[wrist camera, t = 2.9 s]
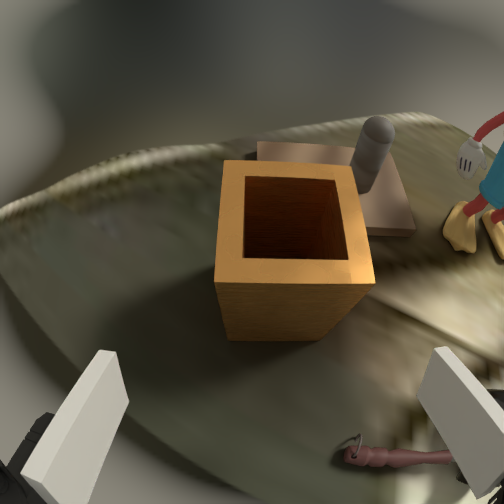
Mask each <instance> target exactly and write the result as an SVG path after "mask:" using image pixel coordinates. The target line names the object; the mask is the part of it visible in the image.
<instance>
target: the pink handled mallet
mask: <svg viewBox="0 0 504 504" xmlns="http://www.w3.org/2000/svg"><path fill="white" fill-rule="evenodd" d="M486 390H487V391H488V393H489V394H490V395H491V396H492V397H493V398H494V399H498V400H500V401H501V402H503V403H504V390H496V389H486ZM359 436H360V441H359V445H358V446H348V447H347V448H346V449H345V452H344V457H343V459H344V461H345V462H346V463H350V464H354V465H358V466H364V465H367V464H368V465H369V466H371V467H383V466H384V465H385V464H387V465H389V466H391V467H393V468H399V467H405V466H411V465H417V464H422V463H429V464H449V463H450V462H456V461H455V459H454V457H453V456H452V454H451V452H450V451H449V450H443V451H435V452H418V451H411V450H405V449H399V448H398V449H395V450H392V451H388V450H387V449H386V448H379V447H374V448H372V449H370V448H369V447H368V446H361V443H362V434H358V435H357V437H356V438H355V442H356V441H357V439H358V438H359ZM456 479H457V480H458V481H460V482H463V483H465V484H468V482H467V481H466V479H465V477H464V475H463V473H462V472H460V473H459V474H458V476H457V477H456ZM468 485H469V484H468ZM500 485H501V484H500V483H499V484H498V485H497V486H496V487H499V486H500Z"/></svg>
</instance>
